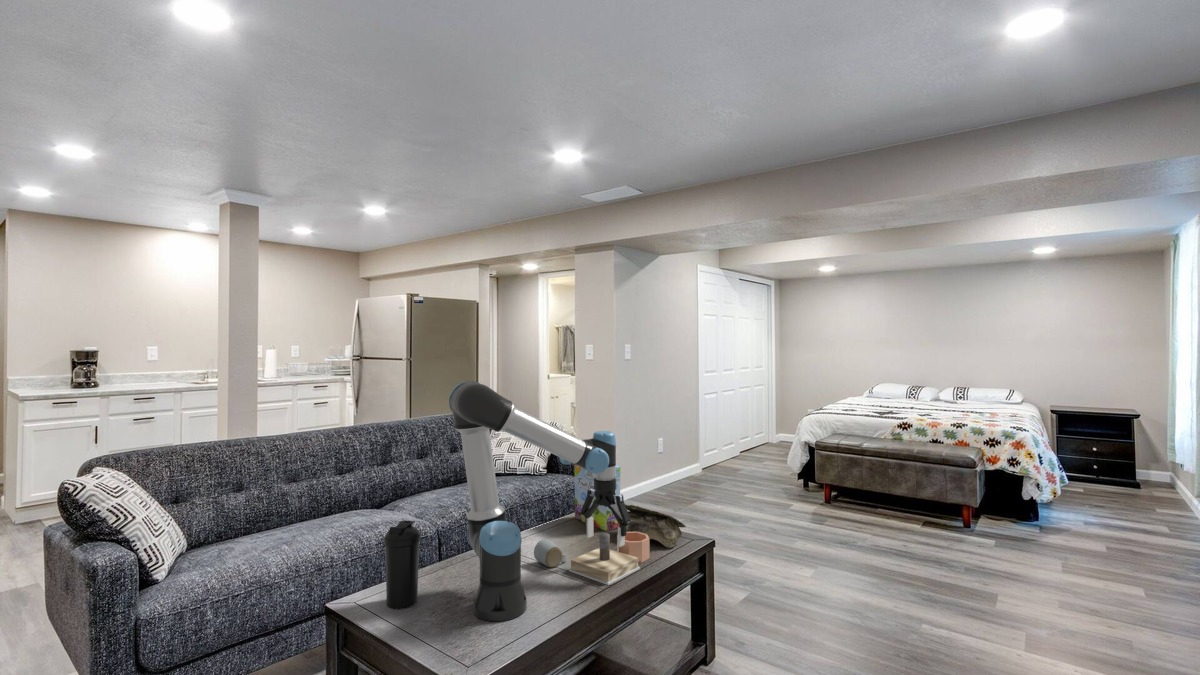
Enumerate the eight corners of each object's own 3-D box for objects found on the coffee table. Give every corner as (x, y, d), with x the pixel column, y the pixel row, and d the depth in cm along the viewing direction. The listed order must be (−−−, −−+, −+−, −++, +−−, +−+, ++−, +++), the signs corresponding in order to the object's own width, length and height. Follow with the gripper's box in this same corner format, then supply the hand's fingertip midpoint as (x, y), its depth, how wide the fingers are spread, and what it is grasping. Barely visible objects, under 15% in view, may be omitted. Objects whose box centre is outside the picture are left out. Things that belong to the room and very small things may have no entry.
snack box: (572, 519, 247) (573, 459, 247) (588, 515, 252) (588, 457, 252) (605, 532, 230) (606, 468, 230) (621, 527, 236) (621, 465, 236)
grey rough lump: (623, 542, 232) (604, 521, 225) (638, 515, 239) (620, 494, 232) (677, 559, 212) (658, 536, 205) (692, 529, 218) (674, 506, 211)
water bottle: (426, 596, 171) (427, 519, 172) (408, 612, 161) (408, 530, 162) (396, 593, 173) (396, 517, 174) (376, 609, 163) (376, 528, 164)
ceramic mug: (546, 571, 191) (546, 547, 191) (533, 563, 197) (533, 541, 198) (571, 563, 198) (572, 541, 198) (558, 556, 204) (558, 535, 204)
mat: (608, 585, 180) (608, 583, 180) (568, 571, 191) (568, 569, 191) (640, 568, 193) (640, 567, 193) (601, 556, 204) (601, 555, 204)
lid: (608, 582, 180) (608, 546, 181) (570, 569, 191) (571, 535, 191) (638, 567, 193) (638, 533, 193) (601, 555, 203) (601, 524, 203)
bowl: (636, 564, 196) (636, 544, 196) (611, 557, 203) (611, 537, 203) (654, 555, 205) (654, 536, 205) (630, 548, 212) (630, 529, 212)
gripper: (641, 481, 187) (642, 546, 187) (584, 470, 203) (585, 530, 203) (627, 485, 181) (628, 552, 181) (570, 474, 197) (570, 536, 197)
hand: (605, 541), depth 192 cm, fingers open, 13 cm apart
